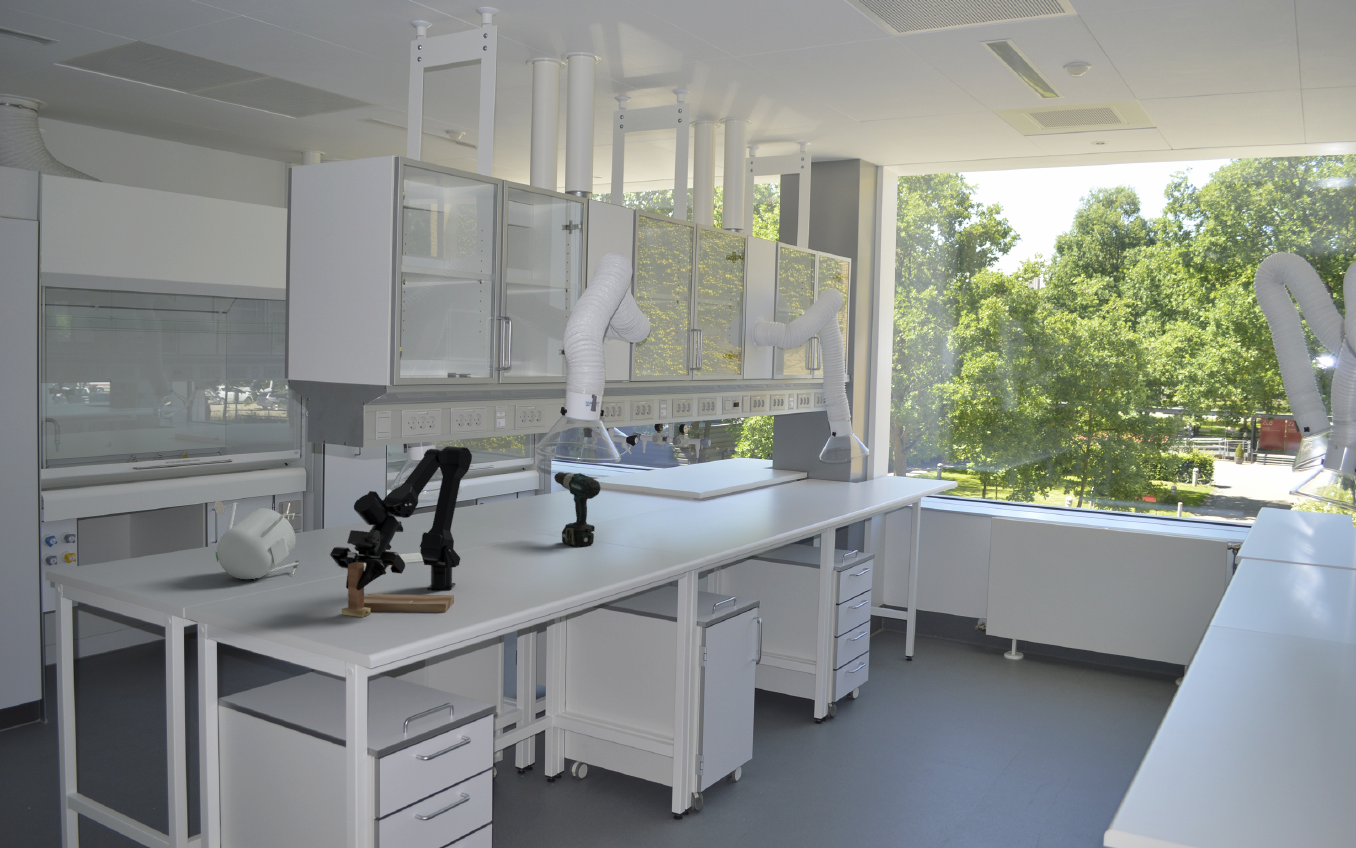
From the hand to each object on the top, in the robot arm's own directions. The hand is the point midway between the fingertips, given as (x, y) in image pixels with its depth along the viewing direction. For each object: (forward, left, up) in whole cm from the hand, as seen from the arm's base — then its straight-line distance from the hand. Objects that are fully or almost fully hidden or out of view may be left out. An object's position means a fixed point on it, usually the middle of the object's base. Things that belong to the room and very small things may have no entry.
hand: (352, 588), depth 231 cm
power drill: (-101, +44, -7) cm, 111 cm away
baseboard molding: (-66, -7, -7) cm, 67 cm away
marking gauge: (-1, 0, -7) cm, 7 cm away
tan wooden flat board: (-10, +10, -7) cm, 16 cm away
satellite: (-41, -40, -7) cm, 58 cm away
